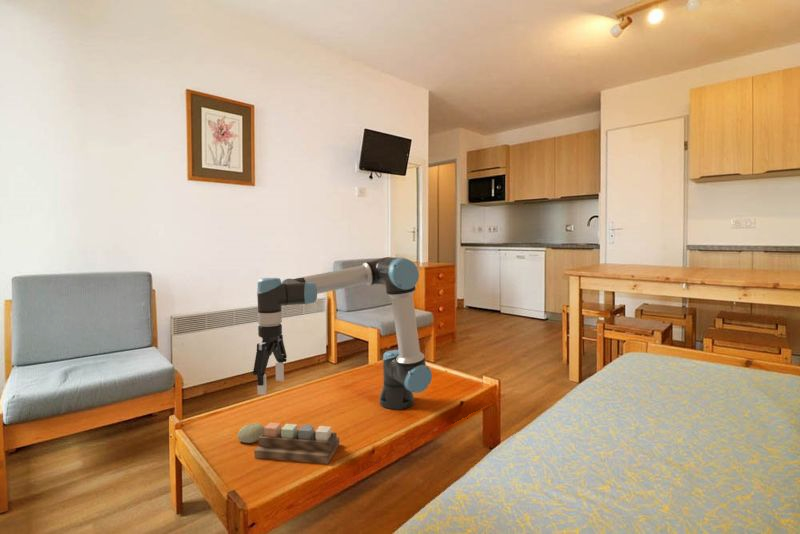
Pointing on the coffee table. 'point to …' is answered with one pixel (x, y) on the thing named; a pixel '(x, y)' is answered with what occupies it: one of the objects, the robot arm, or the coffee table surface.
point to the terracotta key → (272, 430)
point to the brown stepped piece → (297, 448)
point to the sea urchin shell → (250, 433)
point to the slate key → (306, 432)
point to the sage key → (289, 431)
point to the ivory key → (323, 433)
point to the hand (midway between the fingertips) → (271, 387)
